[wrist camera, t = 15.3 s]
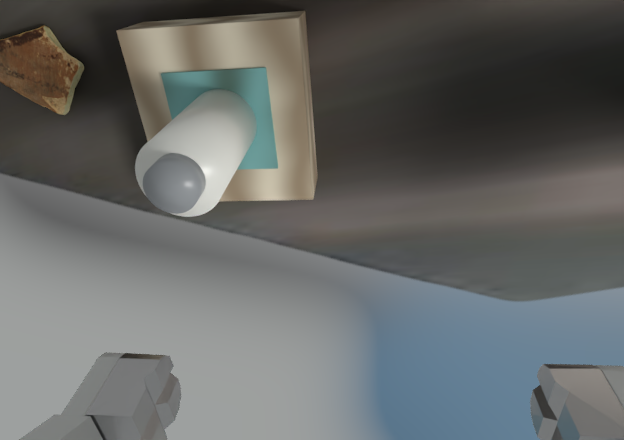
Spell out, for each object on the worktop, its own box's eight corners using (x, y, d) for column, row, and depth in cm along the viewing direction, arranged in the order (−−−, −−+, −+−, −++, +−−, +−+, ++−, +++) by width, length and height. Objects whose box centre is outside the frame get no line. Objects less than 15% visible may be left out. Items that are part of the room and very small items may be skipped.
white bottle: (251, 87, 37) (206, 143, 26) (261, 153, 40) (224, 228, 29) (183, 90, 37) (111, 146, 27) (197, 155, 40) (138, 229, 30)
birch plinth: (305, 10, 38) (297, 18, 33) (317, 176, 46) (312, 201, 42) (142, 22, 40) (114, 31, 35) (182, 180, 48) (163, 203, 44)
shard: (-34, 52, 43) (-48, 56, 42) (-19, -21, 40) (-34, -19, 38) (70, 114, 46) (60, 120, 44) (93, 51, 42) (83, 55, 41)
